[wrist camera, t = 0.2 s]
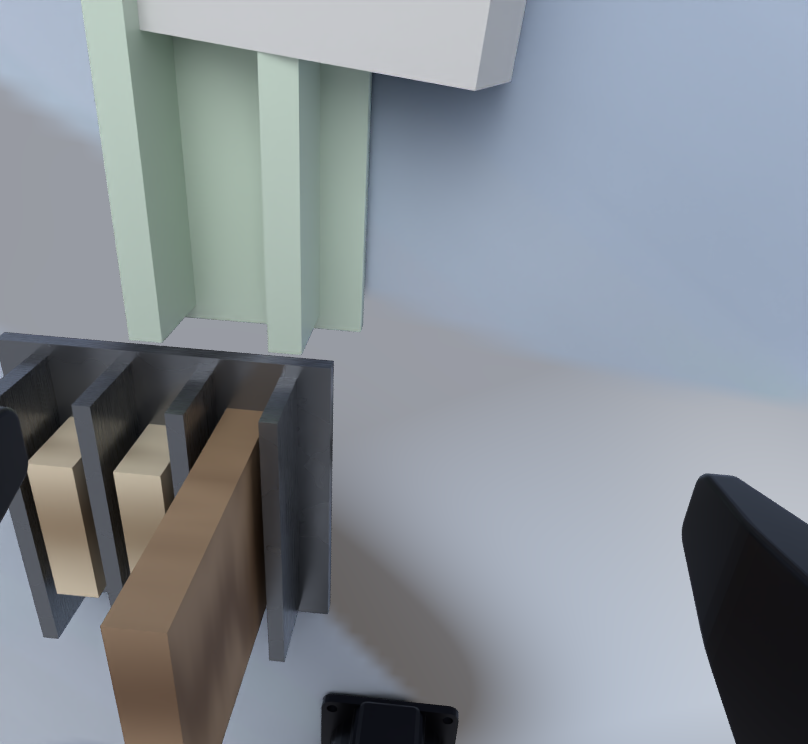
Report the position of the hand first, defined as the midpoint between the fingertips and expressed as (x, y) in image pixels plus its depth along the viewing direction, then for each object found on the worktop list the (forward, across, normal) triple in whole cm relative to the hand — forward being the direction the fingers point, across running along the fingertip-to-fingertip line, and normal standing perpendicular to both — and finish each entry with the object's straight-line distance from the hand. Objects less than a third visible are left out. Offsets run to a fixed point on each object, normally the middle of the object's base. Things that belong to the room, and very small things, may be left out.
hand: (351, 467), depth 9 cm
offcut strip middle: (+14, +8, +12) cm, 20 cm away
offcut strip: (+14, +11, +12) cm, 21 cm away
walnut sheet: (+14, +5, +12) cm, 19 cm away
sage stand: (+14, +6, -1) cm, 15 cm away
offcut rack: (+14, +8, +12) cm, 20 cm away
